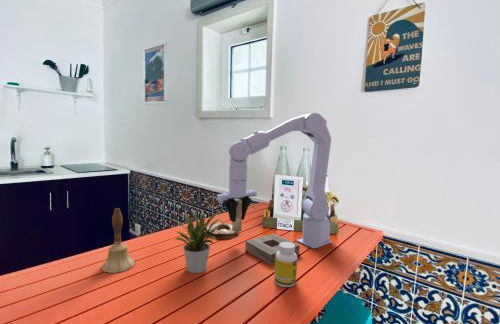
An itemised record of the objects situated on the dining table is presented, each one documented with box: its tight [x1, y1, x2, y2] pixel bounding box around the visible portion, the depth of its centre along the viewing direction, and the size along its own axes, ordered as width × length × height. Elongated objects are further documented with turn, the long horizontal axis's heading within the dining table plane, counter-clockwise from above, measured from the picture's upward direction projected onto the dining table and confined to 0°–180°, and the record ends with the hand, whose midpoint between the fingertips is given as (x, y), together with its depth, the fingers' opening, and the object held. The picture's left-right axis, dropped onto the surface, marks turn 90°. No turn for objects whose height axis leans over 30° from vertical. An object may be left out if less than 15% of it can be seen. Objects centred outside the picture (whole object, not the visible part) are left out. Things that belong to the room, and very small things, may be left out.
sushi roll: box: [204, 222, 239, 241], centre depth 103 cm, size 15×15×4 cm
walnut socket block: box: [244, 233, 301, 266], centre depth 87 cm, size 12×12×3 cm
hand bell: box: [100, 207, 136, 274], centre depth 75 cm, size 8×8×16 cm
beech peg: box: [231, 199, 243, 233], centre depth 91 cm, size 3×3×10 cm
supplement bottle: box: [274, 242, 298, 288], centre depth 70 cm, size 5×5×10 cm
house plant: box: [170, 209, 222, 274], centre depth 75 cm, size 14×14×16 cm
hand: (237, 220), depth 92 cm, fingers closed on beech peg, 3 cm apart
